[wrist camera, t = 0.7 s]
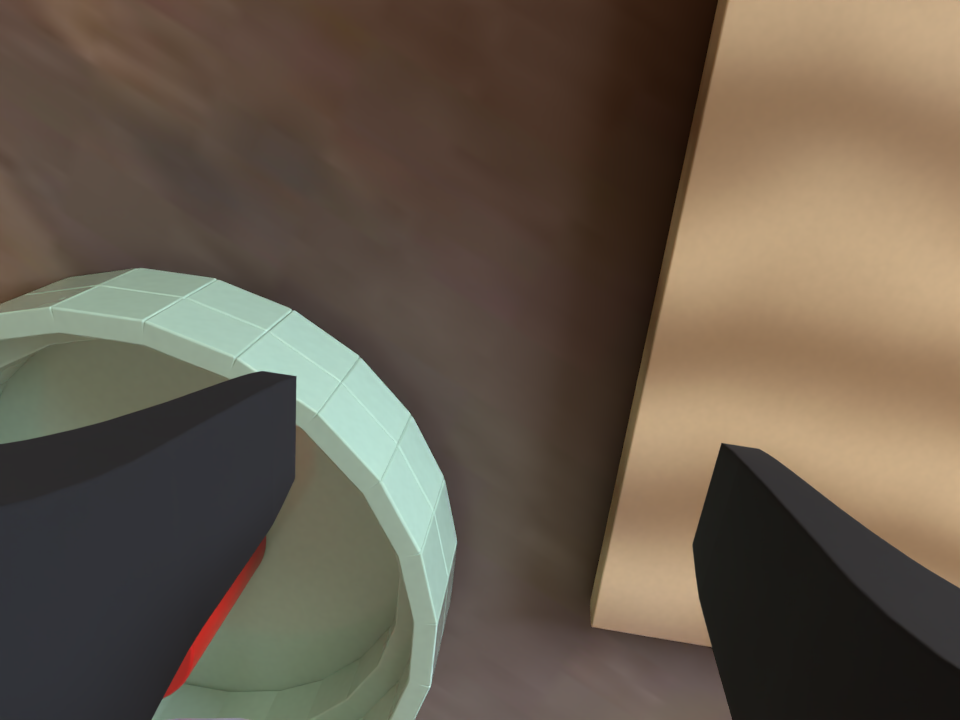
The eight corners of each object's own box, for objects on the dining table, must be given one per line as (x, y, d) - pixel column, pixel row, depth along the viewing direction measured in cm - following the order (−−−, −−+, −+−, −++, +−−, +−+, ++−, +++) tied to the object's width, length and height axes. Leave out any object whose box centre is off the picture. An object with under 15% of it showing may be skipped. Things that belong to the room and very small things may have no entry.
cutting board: (944, 661, 23) (963, 690, 22) (589, 602, 24) (590, 627, 23) (1267, -1, 16) (1320, -7, 14) (729, -55, 16) (740, -64, 15)
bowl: (436, 742, 28) (412, 859, 24) (3, 663, 29) (-91, 761, 25) (485, 308, 21) (464, 366, 16) (-92, 228, 22) (-246, 264, 18)
